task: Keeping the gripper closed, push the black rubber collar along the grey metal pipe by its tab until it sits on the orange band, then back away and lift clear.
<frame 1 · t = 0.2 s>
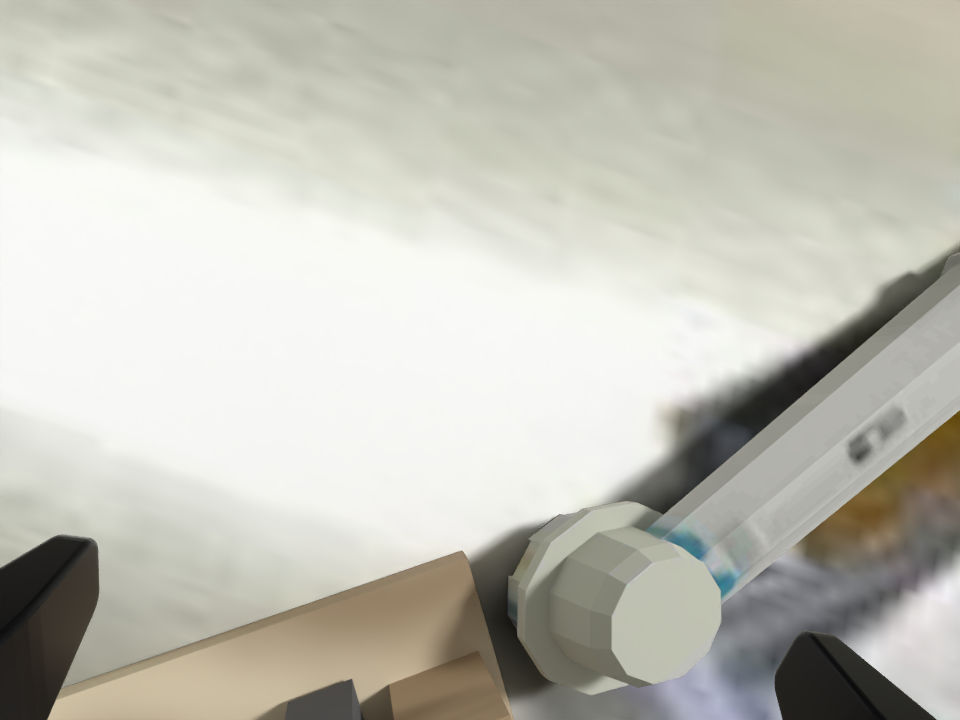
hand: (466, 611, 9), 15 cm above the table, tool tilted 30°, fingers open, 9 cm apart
grey piece: (778, 427, 27), on the table
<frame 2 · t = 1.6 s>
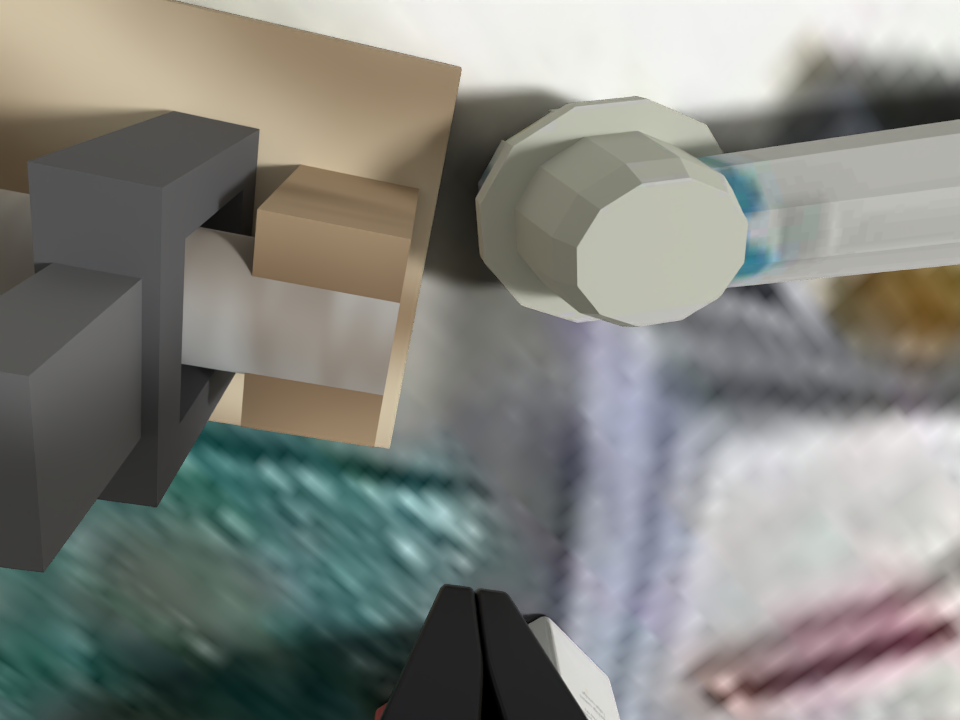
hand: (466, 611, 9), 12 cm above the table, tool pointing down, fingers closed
pipe stand: (72, 203, 18), on the table
ink cartridge box: (494, 687, 28), on the table
collar: (133, 322, 13), point 6 cm above the table, slide at 0.0 cm
grey piece: (920, 158, 19), on the table
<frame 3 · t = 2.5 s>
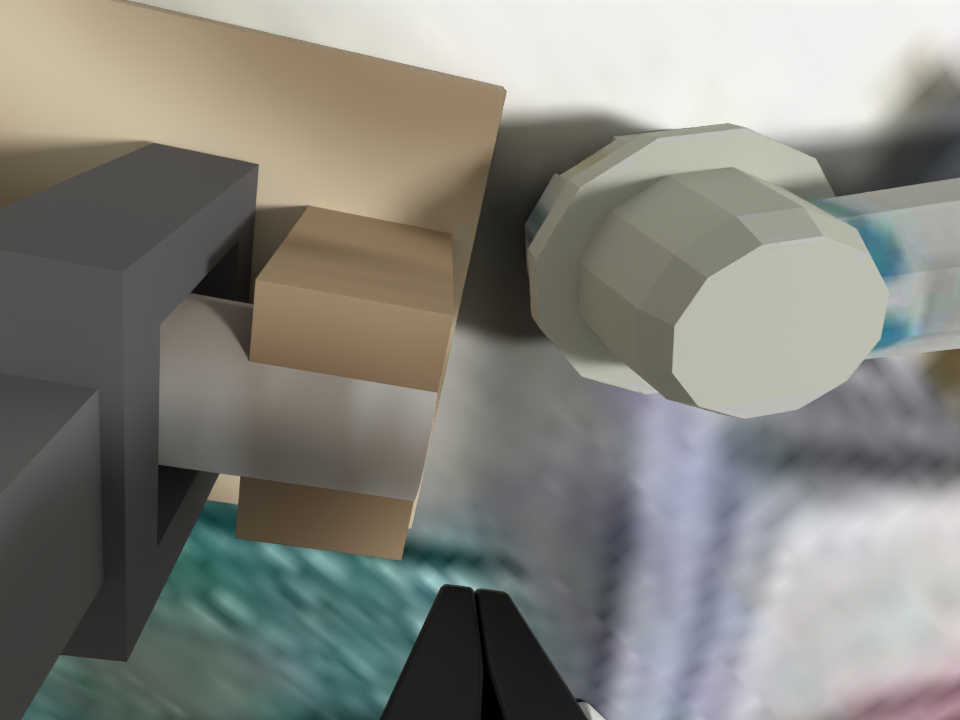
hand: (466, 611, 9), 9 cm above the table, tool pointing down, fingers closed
pipe stand: (34, 249, 15), on the table
collar: (95, 426, 10), point 6 cm above the table, slide at 0.0 cm
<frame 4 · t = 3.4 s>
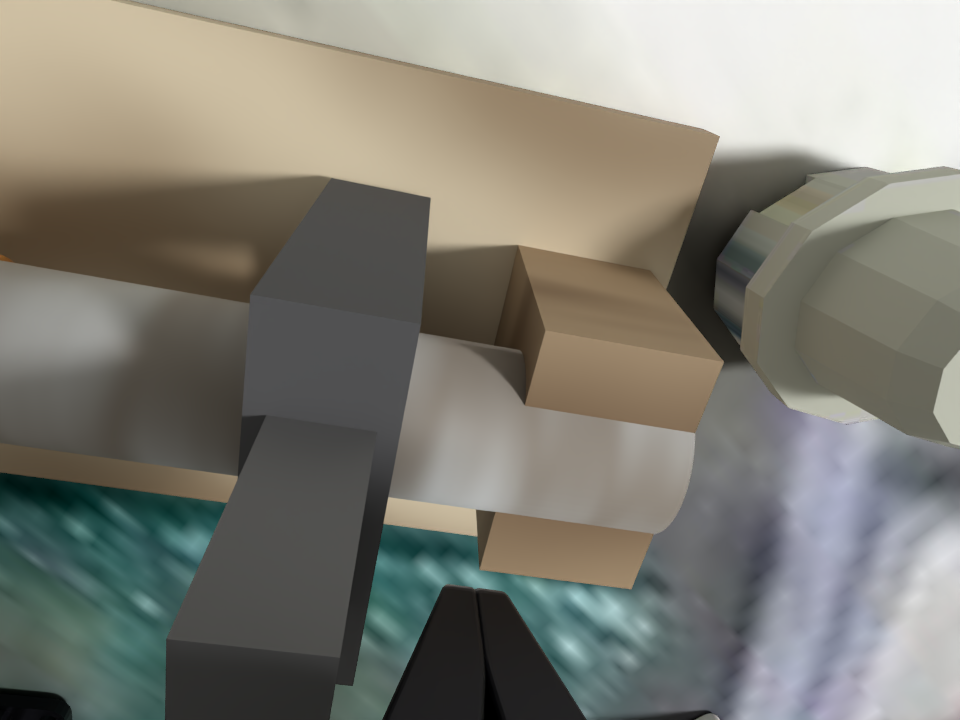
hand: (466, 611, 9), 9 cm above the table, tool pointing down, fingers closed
pipe stand: (238, 286, 16), on the table
collar: (325, 460, 11), point 6 cm above the table, slide at 1.0 cm, touching gripper
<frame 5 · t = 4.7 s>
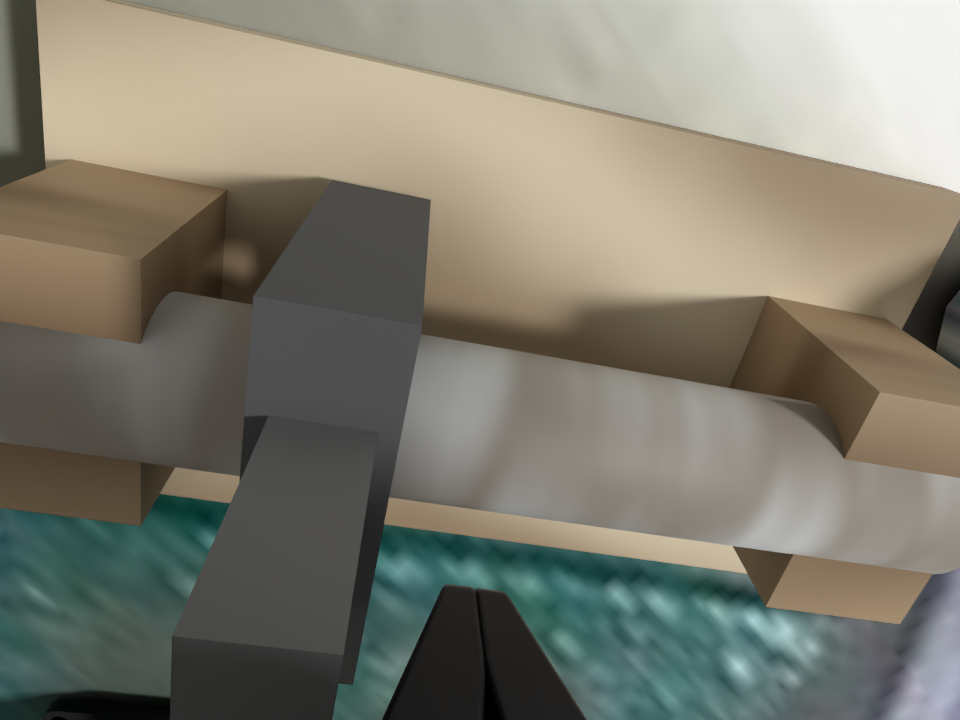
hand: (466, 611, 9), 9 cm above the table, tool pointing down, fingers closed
pipe stand: (485, 330, 17), on the table
collar: (326, 460, 11), point 6 cm above the table, slide at 6.9 cm, touching gripper
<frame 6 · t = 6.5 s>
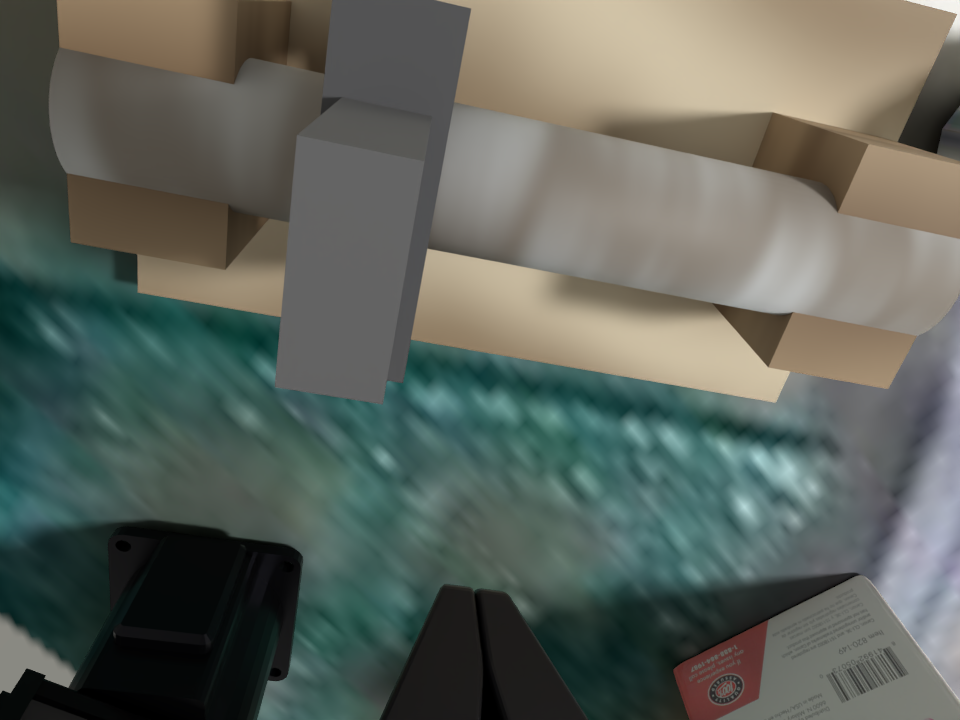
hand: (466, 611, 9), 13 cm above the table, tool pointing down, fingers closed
pipe stand: (516, 155, 19), on the table
ink cartridge box: (787, 647, 28), on the table
collar: (381, 186, 13), point 6 cm above the table, slide at 7.1 cm
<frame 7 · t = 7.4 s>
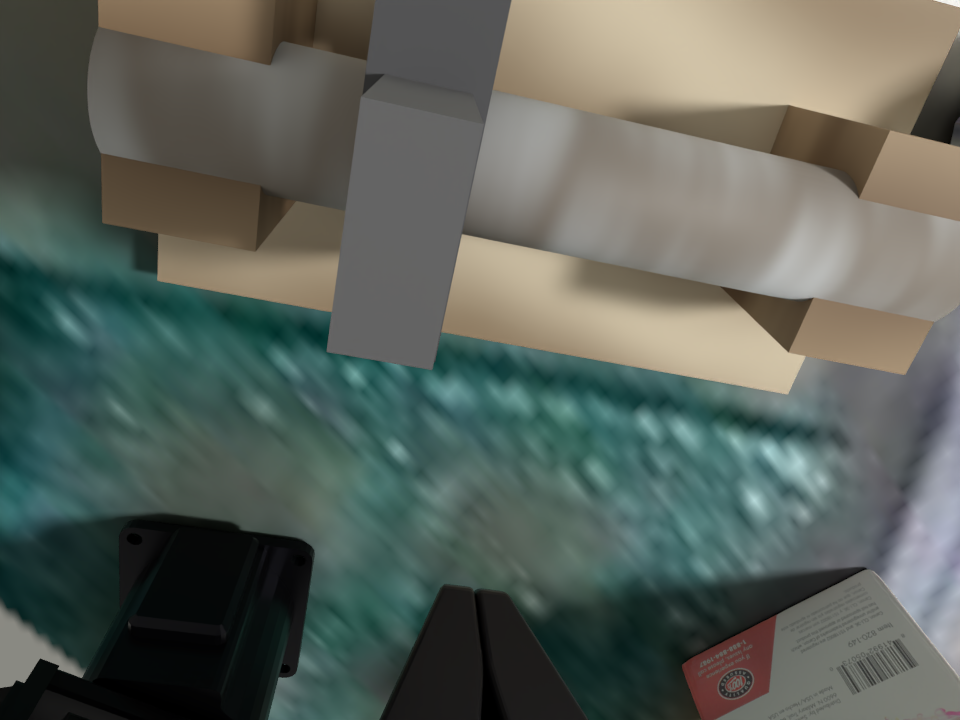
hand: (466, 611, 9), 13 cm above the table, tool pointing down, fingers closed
pipe stand: (535, 146, 19), on the table
ink cartridge box: (794, 642, 28), on the table
collar: (414, 167, 13), point 6 cm above the table, slide at 7.1 cm
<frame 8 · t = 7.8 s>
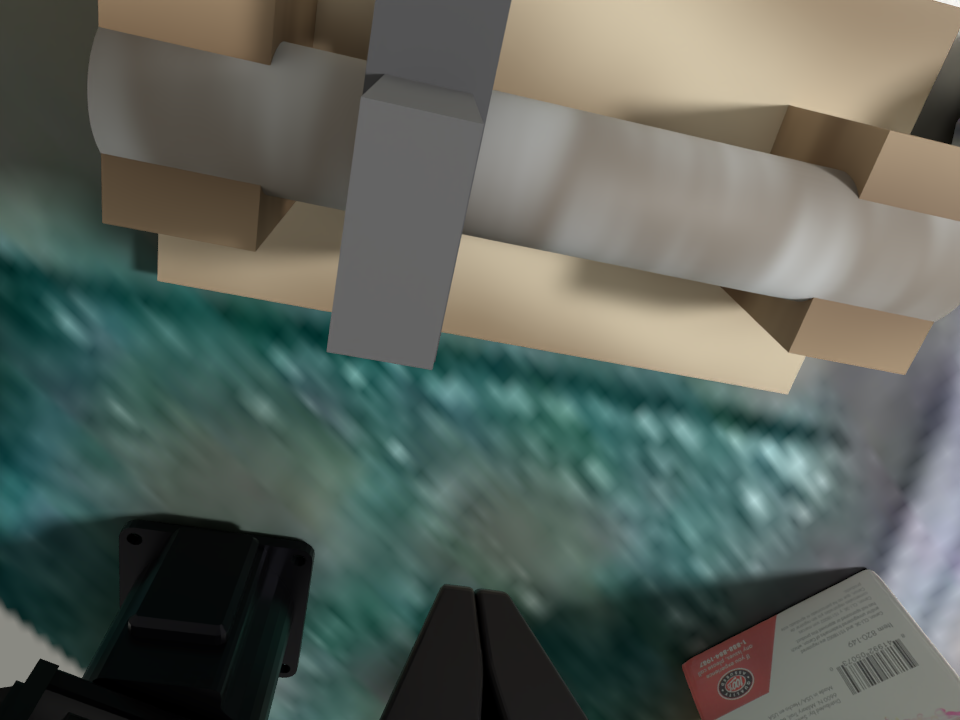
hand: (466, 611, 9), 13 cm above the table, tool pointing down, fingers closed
pipe stand: (535, 146, 19), on the table
ink cartridge box: (794, 642, 28), on the table
collar: (414, 167, 13), point 6 cm above the table, slide at 7.1 cm
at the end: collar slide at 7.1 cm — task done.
